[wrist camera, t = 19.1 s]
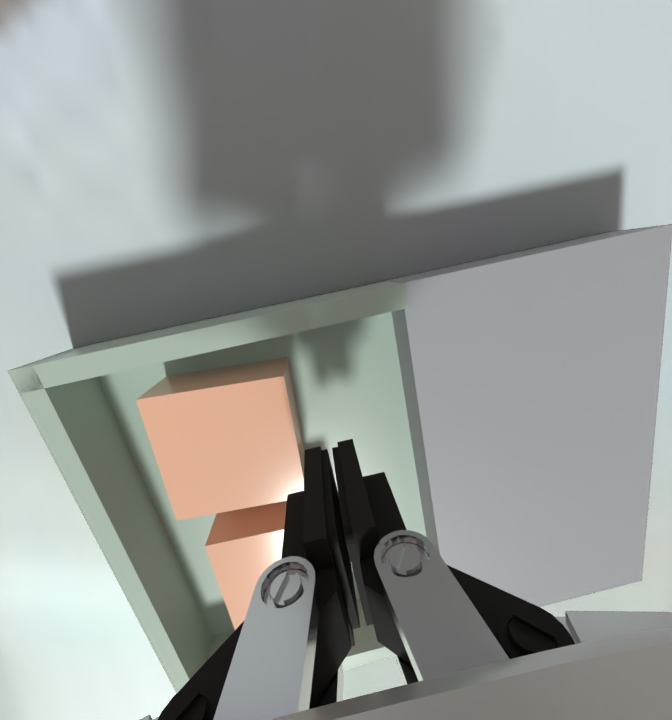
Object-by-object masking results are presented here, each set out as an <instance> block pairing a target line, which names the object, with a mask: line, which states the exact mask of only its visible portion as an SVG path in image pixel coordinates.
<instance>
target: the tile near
mask: <svg viewBox="0 0 672 720" xmlns="http://www.w3.org/2000/svg"><path fill="white" fill-rule="evenodd" d="M136 402H137V405H138V408H139V411H140V414H141V417H142V420H143V423H144V426H145V429H146V431H147V434H148V437H149V440H150V443H151V446H152V449H153V452H154V455H155V458H156V461H157V464H158V467H159V470H160V473H161V476H162V479H163V482H164V485H165V488H166V491H167V494H168V497H169V500H170V503H171V506H172V509H173V512H174V515H175V518H176V521H177V520H183V519H188V518H194V517H199V516H205V515H210V514H216V513H221V512H227V511H233V510H238V509H244V508H249V507H255V506H260V505H266V504H271V503H277V502H282V501H287V496H288V494H291V493H296V492H300V491H304V452H305V448H304V443H303V438H302V432H301V427H300V422H299V416H298V411H297V406H296V400H295V395H294V390H293V384H292V379H291V374H290V368H289V363H288V357H285V358H279V359H273V360H266V361H260V362H254V363H247V364H241V365H234V366H228V367H222V368H215V369H209V370H203V371H196V372H190V373H184V374H177V375H171V376H166V377H165V378H163V379H162V380H161V381H159V382H158V383H157V384H156V385H154V386H153V387H152V388H150V389H149V390H148V391H147V392H145V393H144V394H143V395H141V396H140V397H139V398H137V399H136Z"/></svg>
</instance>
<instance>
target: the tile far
mask: <svg viewBox="0 0 672 720" xmlns="http://www.w3.org/2000/svg"><path fill="white" fill-rule="evenodd" d="M286 504H287V501H282V502H277V503H271V504H266V505H260V506H255V507H249V508H244V509H238V510H233V511H227V512H221V513H217V514H216V516H215V519H214V522H213V525H212V527H211V530H210V533H209V536H208V539H207V541H206V544H205V548H206V551H207V554H208V557H209V559H210V562H211V565H212V568H213V570H214V573H215V576H216V579H217V582H218V584H219V587H220V590H221V593H222V596H223V598H224V601H225V604H226V607H227V609H228V612H229V615H230V618H231V621H232V623H233V626H234V629H235V630H236V629H237V628H238V627H239V625H240V624H241V623H242V622H243V621H244V620H245V617H246V614H247V611H248V608H249V605H250V601H251V598H252V595H253V592H254V589H255V586H256V584H257V581H258V579H259V577H260V576H261V575H262V573H263V572H264V571H265V570H266V569H267V568H268V567H269V566H270V565H272V564H273V563H274V562H276V561H278V560H280V559H281V558H282V547H283V536H284V525H285V515H286Z"/></svg>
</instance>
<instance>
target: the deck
mask: <svg viewBox="0 0 672 720" xmlns="http://www.w3.org/2000/svg"><path fill="white" fill-rule="evenodd" d="M671 241H672V224H670V225H661V226H653V227H645V228H637V229H629V230H621V231H613V232H607V233H602V234H597V235H593V236H588V237H584V238H579V239H574V240H570V241H565V242H561V243H556V244H551V245H547V246H542V247H538V248H533V249H528V250H524V251H519V252H515V253H510V254H506V255H501V256H496V257H492V258H487V259H483V260H478V261H473V262H469V263H464V264H460V265H455V266H450V267H446V268H441V269H437V270H432V271H427V272H423V273H418V274H414V275H409V276H404V277H400V278H395V279H391V280H386V281H387V282H394V283H401V284H405V286H406V293H407V300H408V308H406V309H401V310H397V311H392V319H393V325H394V332H395V338H396V344H397V351H398V357H399V364H400V370H401V376H402V383H403V389H404V396H405V402H406V408H407V415H408V421H409V428H410V434H411V441H412V447H413V453H414V460H415V466H416V473H417V479H418V485H419V492H420V498H421V505H422V511H423V517H424V524H425V530H426V537H427V538H428V540H429V541H430V542H431V543H432V544H433V545H434V547H435V548H436V550H437V551H438V553H439V554H440V556H441V557H442V559H443V560H444V562H445V563H446V565H449V566H451V567H453V568H455V569H457V570H460V571H462V572H464V573H466V574H468V575H470V576H473V577H475V578H477V579H479V580H481V581H484V582H486V583H488V584H490V585H492V586H494V587H497V588H499V589H501V590H503V591H505V592H508V593H510V594H512V595H514V596H516V597H519V598H521V599H523V600H525V601H527V602H529V603H532V604H534V605H536V606H538V607H541V606H545V605H549V604H553V603H557V602H561V601H564V600H568V599H572V598H576V597H580V596H584V595H588V594H592V593H595V592H599V591H603V590H607V589H611V588H615V587H619V586H623V585H626V584H630V583H634V582H638V581H642V573H643V561H644V550H645V538H646V527H647V515H648V504H649V493H650V481H651V470H652V458H653V447H654V435H655V424H656V412H657V401H658V390H659V378H660V367H661V355H662V344H663V332H664V321H665V310H666V298H667V287H668V275H669V264H670V252H671Z"/></svg>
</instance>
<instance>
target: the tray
mask: <svg viewBox="0 0 672 720" xmlns="http://www.w3.org/2000/svg"><path fill="white" fill-rule="evenodd" d="M406 308H408V300H407V293H406V286H405V284H401V283H394V282H387V281H381V282H377V283H372V284H368V285H363V286H358V287H354V288H349V289H345V290H340V291H335V292H331V293H326V294H322V295H317V296H312V297H308V298H303V299H299V300H294V301H290V302H285V303H280V304H276V305H271V306H267V307H262V308H257V309H253V310H248V311H244V312H239V313H234V314H230V315H225V316H221V317H216V318H211V319H207V320H202V321H198V322H193V323H188V324H184V325H179V326H175V327H170V328H165V329H161V330H156V331H152V332H147V333H142V334H138V335H133V336H129V337H124V338H119V339H115V340H110V341H106V342H101V343H97V344H92V345H87V346H83V347H78V348H74V349H70V350H67V351H64V352H61V353H59V354H56V355H53V356H50V357H47V358H44V359H41V360H38V361H35V362H32V363H29V364H26V365H24V366H21V367H18V368H15V369H12V370H9V371H8V373H9V375H10V377H11V379H12V381H13V383H14V384H15V386H16V388H17V390H18V392H19V394H20V396H21V398H22V400H23V402H24V403H25V405H26V407H27V409H28V411H29V413H30V415H31V417H32V419H33V421H34V423H35V424H36V426H37V428H38V430H39V432H40V434H41V436H42V438H43V440H44V442H45V443H46V445H47V447H48V449H49V451H50V453H51V455H52V457H53V459H54V461H55V463H56V464H57V466H58V468H59V470H60V472H61V474H62V476H63V478H64V480H65V482H66V483H67V485H68V487H69V489H70V491H71V493H72V495H73V497H74V499H75V501H76V503H77V504H78V506H79V508H80V510H81V512H82V514H83V516H84V518H85V520H86V522H87V524H88V525H89V527H90V529H91V531H92V533H93V535H94V537H95V539H96V541H97V543H98V544H99V546H100V548H101V550H102V552H103V554H104V556H105V558H106V560H107V562H108V564H109V565H110V567H111V569H112V571H113V573H114V575H115V577H116V579H117V581H118V583H119V584H120V586H121V588H122V590H123V592H124V594H125V596H126V598H127V600H128V602H129V604H130V605H131V607H132V609H133V611H134V613H135V615H136V617H137V619H138V621H139V623H140V624H141V626H142V628H143V630H144V632H145V634H146V636H147V638H148V640H149V642H150V644H151V645H152V647H153V649H154V651H155V653H156V655H157V657H158V659H159V661H160V663H161V664H162V666H163V668H164V670H165V672H166V674H167V676H168V678H169V680H170V682H171V684H172V685H173V687H174V689H175V691H176V693H178V692H179V691H180V689H181V688H182V687H183V686H184V685H185V684H186V683H187V682H188V681H189V680H190V679H191V678H192V676H193V675H194V674H195V673H196V672H197V671H198V670H199V669H200V668H201V667H202V666H203V665H204V663H205V662H206V661H207V660H208V659H209V658H210V657H211V656H212V655H213V654H214V653H215V652H216V650H217V649H218V648H219V647H220V646H221V645H222V644H223V643H224V642H225V641H226V640H227V638H228V637H229V636H230V635H231V634H232V633H233V632H234V631H235V629H234V626H233V623H232V621H231V618H230V615H229V612H228V609H227V607H226V604H225V601H224V598H223V596H222V593H221V590H220V587H219V584H218V582H217V579H216V576H215V573H214V570H213V568H212V565H211V562H210V559H209V557H208V554H207V551H206V548H205V544H206V541H207V539H208V536H209V533H210V530H211V527H212V525H213V522H214V519H215V516H216V514H217V513H216V514H210V515H205V516H199V517H194V518H188V519H183V520H177V521H176V518H175V515H174V512H173V509H172V506H171V503H170V500H169V497H168V494H167V491H166V488H165V485H164V482H163V479H162V476H161V473H160V470H159V467H158V464H157V461H156V458H155V455H154V452H153V449H152V446H151V443H150V440H149V437H148V434H147V431H146V429H145V426H144V423H143V420H142V417H141V414H140V411H139V408H138V405H137V402H136V399H137V398H139V397H140V396H141V395H143V394H144V393H145V392H147V391H148V390H149V389H150V388H152V387H153V386H154V385H156V384H157V383H158V382H159V381H161V380H162V379H163V378H165V377H166V376H171V375H177V374H184V373H190V372H196V371H203V370H209V369H215V368H222V367H228V366H234V365H241V364H247V363H254V362H260V361H266V360H273V359H279V358H285V357H288V363H289V368H290V374H291V379H292V384H293V390H294V395H295V400H296V406H297V411H298V416H299V422H300V427H301V432H302V438H303V443H304V448H305V450H306V449H310V448H314V447H319V446H320V447H321V449H322V450H325V449H327V450H328V453H329V458H330V462H331V466H332V470H333V474H334V478H335V482H336V486H337V481H336V473H335V466H334V459H333V452H332V448H333V447H338V444H337V442H340V441H345V440H349V439H353V443H354V446H355V450H356V454H357V457H358V461H359V465H360V469H361V472H362V476H363V477H364V476H368V475H372V474H377V473H381V472H384V473H385V475H386V477H387V480H388V483H389V485H390V488H391V490H392V493H393V496H394V498H395V501H396V503H397V506H398V509H399V511H400V514H401V516H402V519H403V522H404V524H405V527H406V529H407V530H411V531H415V532H418V533H420V534H422V535H423V536H425V537H426V530H425V524H424V517H423V511H422V505H421V498H420V492H419V485H418V479H417V473H416V466H415V460H414V453H413V447H412V441H411V434H410V428H409V421H408V415H407V408H406V402H405V396H404V389H403V383H402V376H401V370H400V364H399V357H398V351H397V344H396V338H395V332H394V325H393V319H392V311H397V310H401V309H406ZM337 490H338V488H337ZM351 567H352V565H351ZM352 573H353V569H352ZM353 580H354V587H355V593H356V600H357V607H358V614H359V620H360V628H357V629H353V633H354V641H355V646H351V647H352V648H351V649H350V651H349V653H348V654H347V656H346V657H345V659H344V661H343V662H342V668H343V670H346V669H349V668H353V667H357V666H361V665H365V664H369V663H373V662H376V661H380V660H384V659H388V658H392V657H396V656H395V654H394V653H393V652H392V651H390V650H389V649H387V648H386V647H385V646H383V645H382V644H381V643H379V642H378V641H377V637H376V633H375V629H374V625H369V626H367V625H366V621H365V617H364V613H363V609H362V605H361V601H360V597H359V593H358V589H357V585H356V581H355V577H354V573H353Z"/></svg>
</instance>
